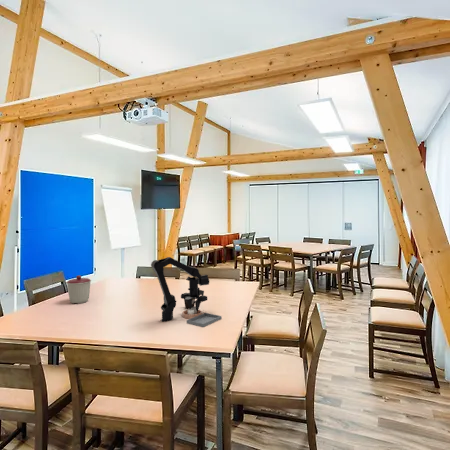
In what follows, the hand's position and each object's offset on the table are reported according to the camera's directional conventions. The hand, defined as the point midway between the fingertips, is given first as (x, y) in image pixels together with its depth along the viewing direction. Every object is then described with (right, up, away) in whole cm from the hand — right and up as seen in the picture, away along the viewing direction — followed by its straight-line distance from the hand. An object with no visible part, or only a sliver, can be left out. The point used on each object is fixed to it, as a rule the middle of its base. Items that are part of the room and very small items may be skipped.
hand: (194, 310), depth 213 cm
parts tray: (+8, -4, -13) cm, 16 cm away
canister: (-94, -5, +42) cm, 103 cm away
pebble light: (-2, -3, -4) cm, 6 cm away
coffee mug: (-4, -4, +19) cm, 20 cm away
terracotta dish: (-1, -4, -2) cm, 5 cm away
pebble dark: (0, -3, 0) cm, 3 cm away
